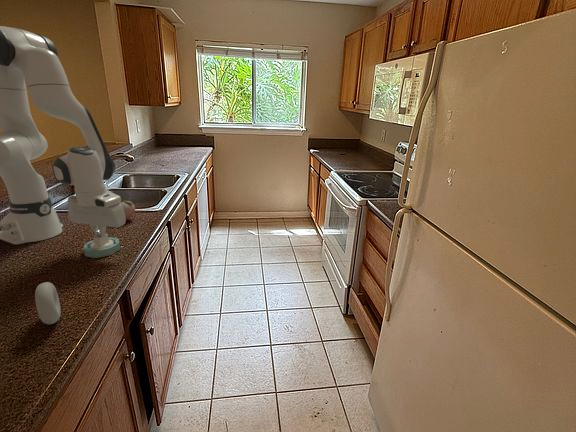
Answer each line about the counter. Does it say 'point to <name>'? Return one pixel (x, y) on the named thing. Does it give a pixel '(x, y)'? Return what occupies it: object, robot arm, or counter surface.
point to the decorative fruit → (128, 208)
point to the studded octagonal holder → (101, 252)
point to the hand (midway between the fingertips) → (100, 235)
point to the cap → (101, 242)
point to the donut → (47, 303)
